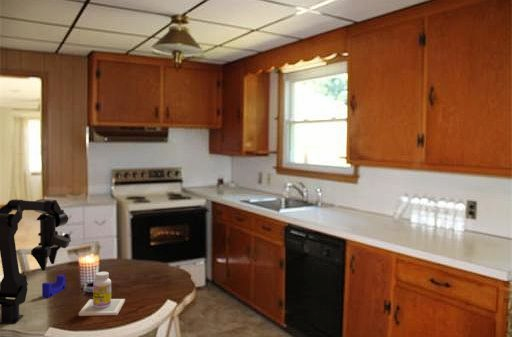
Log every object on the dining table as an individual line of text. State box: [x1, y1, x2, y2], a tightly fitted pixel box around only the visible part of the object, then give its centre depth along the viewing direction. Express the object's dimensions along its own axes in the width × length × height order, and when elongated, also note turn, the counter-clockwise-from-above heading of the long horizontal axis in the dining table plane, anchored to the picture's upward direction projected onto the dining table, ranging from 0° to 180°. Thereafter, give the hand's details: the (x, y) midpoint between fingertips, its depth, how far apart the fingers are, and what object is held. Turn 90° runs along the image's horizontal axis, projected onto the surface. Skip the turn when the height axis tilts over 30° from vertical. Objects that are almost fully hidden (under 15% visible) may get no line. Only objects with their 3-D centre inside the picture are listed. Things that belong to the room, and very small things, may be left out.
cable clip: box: [41, 274, 66, 299], centre depth 184 cm, size 12×4×6 cm, turn 173°
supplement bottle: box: [92, 271, 112, 308], centre depth 168 cm, size 7×7×13 cm
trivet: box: [78, 298, 126, 317], centre depth 168 cm, size 14×14×1 cm
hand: (48, 267), depth 177 cm, fingers open, 9 cm apart
